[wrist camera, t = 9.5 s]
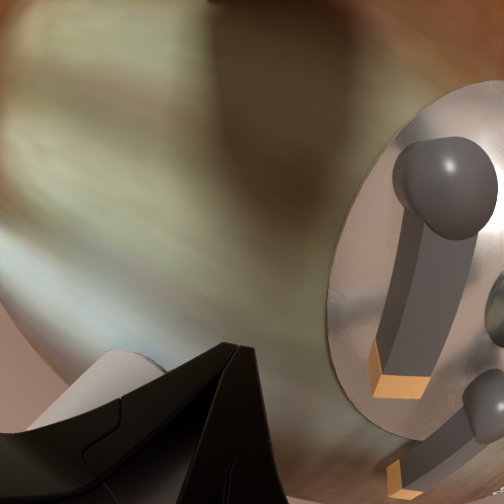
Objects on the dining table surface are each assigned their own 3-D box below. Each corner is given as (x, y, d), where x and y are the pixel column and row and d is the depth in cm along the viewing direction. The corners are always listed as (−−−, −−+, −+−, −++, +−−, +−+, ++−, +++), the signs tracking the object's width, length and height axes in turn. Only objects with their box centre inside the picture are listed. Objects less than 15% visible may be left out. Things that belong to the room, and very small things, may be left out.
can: (203, 405, 21) (134, 532, 10) (145, 418, 23) (80, 511, 12) (140, 330, 20) (27, 445, 9) (92, 356, 22) (3, 441, 11)
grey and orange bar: (488, 361, 13) (509, 398, 10) (512, 376, 13) (531, 409, 10) (381, 460, 17) (382, 496, 14) (411, 467, 17) (414, 501, 14)
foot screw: (395, 134, 11) (420, 126, 8) (463, 149, 11) (502, 150, 7) (356, 352, 15) (361, 397, 12) (415, 357, 14) (430, 400, 11)
